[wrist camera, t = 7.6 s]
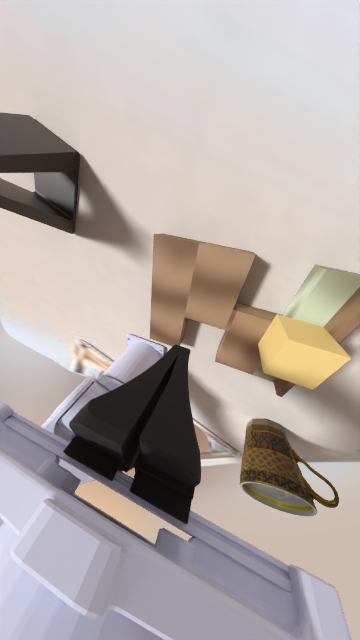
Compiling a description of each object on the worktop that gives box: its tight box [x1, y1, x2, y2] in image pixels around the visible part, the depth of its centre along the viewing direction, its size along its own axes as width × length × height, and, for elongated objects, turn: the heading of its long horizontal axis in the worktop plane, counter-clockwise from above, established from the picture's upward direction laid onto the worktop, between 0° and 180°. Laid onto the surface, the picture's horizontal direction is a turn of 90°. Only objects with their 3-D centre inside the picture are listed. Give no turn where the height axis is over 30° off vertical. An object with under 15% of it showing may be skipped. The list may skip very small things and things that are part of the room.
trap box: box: [150, 234, 360, 397], centre depth 18 cm, size 15×20×4 cm
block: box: [258, 314, 351, 390], centre depth 15 cm, size 4×4×4 cm
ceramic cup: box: [240, 419, 339, 516], centre depth 25 cm, size 13×10×10 cm
